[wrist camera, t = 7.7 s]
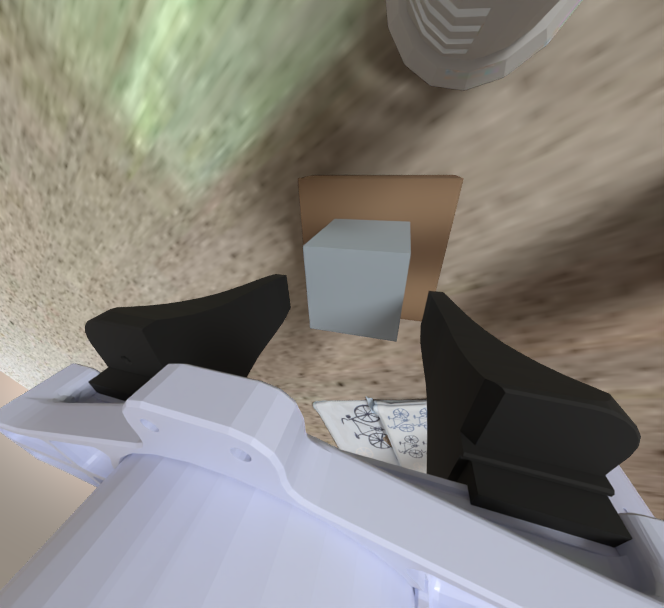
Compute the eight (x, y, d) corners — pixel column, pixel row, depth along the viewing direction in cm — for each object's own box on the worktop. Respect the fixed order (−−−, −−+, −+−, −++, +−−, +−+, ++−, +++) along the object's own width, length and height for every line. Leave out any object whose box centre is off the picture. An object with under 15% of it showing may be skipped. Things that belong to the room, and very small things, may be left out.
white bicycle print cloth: (480, 481, 34) (484, 499, 32) (349, 465, 42) (346, 479, 40) (467, 390, 26) (471, 407, 24) (307, 392, 34) (302, 405, 32)
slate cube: (399, 290, 18) (396, 341, 13) (335, 283, 19) (310, 328, 14) (410, 221, 15) (410, 253, 10) (334, 218, 16) (302, 246, 11)
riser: (425, 302, 21) (427, 322, 18) (319, 290, 23) (308, 305, 21) (454, 175, 16) (463, 178, 13) (312, 175, 18) (297, 178, 16)
